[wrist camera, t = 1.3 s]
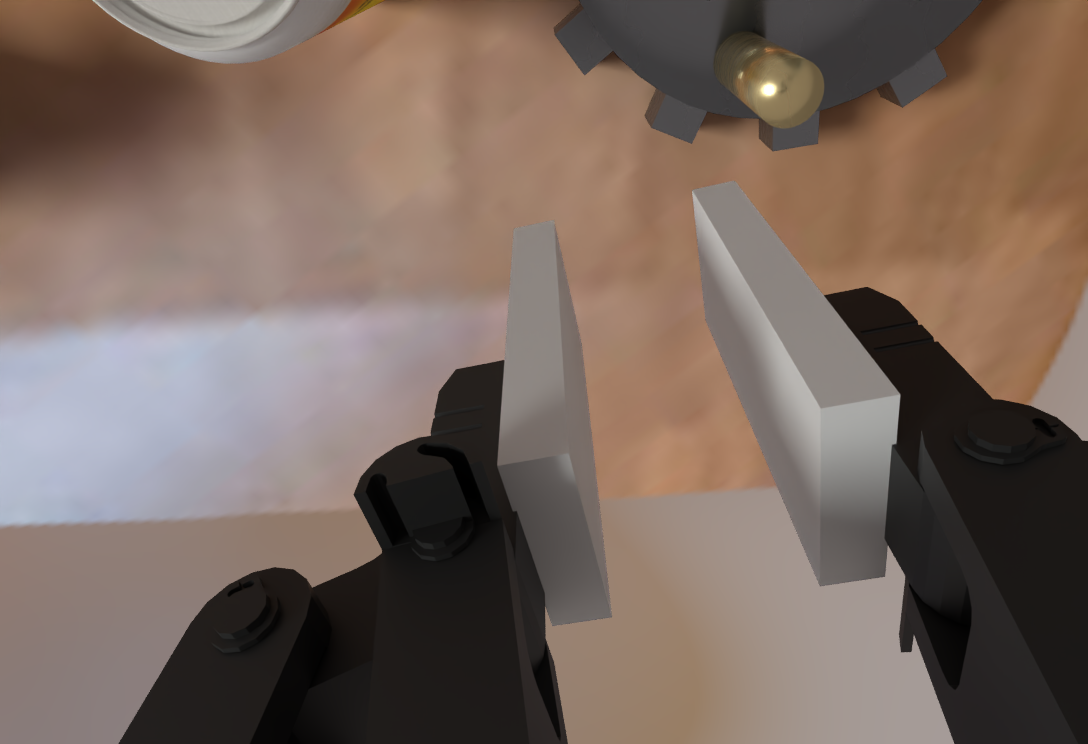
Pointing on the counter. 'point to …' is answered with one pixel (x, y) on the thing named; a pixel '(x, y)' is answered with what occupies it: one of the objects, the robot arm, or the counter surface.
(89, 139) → the counter surface
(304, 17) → the beer can
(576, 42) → the sprocket
